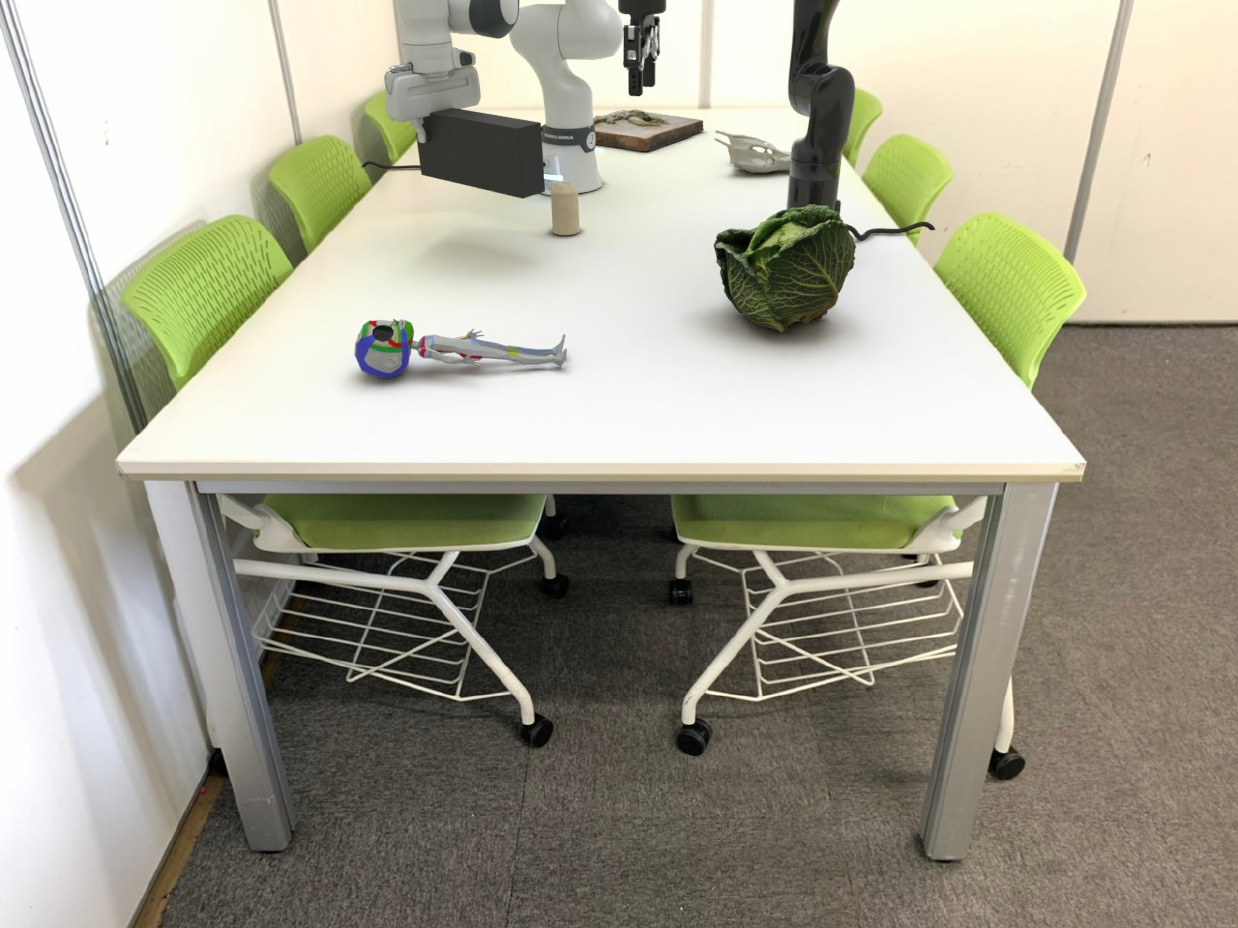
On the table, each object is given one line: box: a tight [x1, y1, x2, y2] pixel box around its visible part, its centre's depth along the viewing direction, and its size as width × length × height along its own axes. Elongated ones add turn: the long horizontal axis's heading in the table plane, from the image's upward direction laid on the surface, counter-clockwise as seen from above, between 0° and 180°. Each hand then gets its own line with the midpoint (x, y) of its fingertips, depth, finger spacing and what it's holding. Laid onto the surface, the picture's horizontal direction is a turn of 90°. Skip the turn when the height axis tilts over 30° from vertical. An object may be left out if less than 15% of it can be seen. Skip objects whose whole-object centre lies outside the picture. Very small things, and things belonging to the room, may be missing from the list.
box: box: [415, 108, 545, 199], centre depth 165 cm, size 28×6×12 cm, turn 51°
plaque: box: [593, 108, 705, 152], centre depth 257 cm, size 30×7×30 cm
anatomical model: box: [714, 130, 791, 174], centre depth 222 cm, size 15×9×25 cm
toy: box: [353, 318, 568, 379], centre depth 130 cm, size 10×8×30 cm
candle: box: [550, 181, 580, 236], centre depth 182 cm, size 6×6×10 cm
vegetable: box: [713, 204, 857, 334], centre depth 140 cm, size 20×19×20 cm
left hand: (439, 138), depth 170 cm, fingers closed on box, 6 cm apart
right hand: (642, 91), depth 146 cm, fingers open, 8 cm apart
